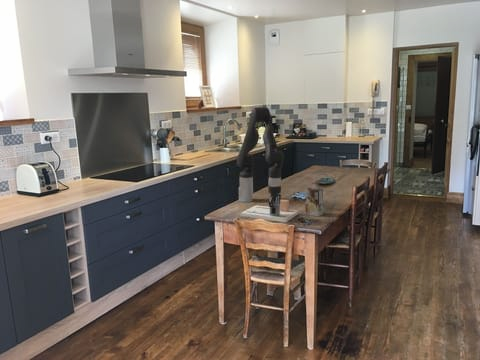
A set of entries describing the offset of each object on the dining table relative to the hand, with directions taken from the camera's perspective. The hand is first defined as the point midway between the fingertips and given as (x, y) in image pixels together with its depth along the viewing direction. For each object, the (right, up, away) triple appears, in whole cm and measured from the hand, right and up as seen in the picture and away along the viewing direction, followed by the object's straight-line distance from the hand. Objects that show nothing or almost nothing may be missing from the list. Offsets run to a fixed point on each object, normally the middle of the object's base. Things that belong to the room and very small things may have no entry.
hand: (274, 212), depth 247 cm
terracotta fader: (+7, +1, +10) cm, 12 cm away
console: (-2, -2, +9) cm, 9 cm away
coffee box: (+25, -2, +8) cm, 26 cm away
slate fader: (0, -1, 0) cm, 1 cm away
